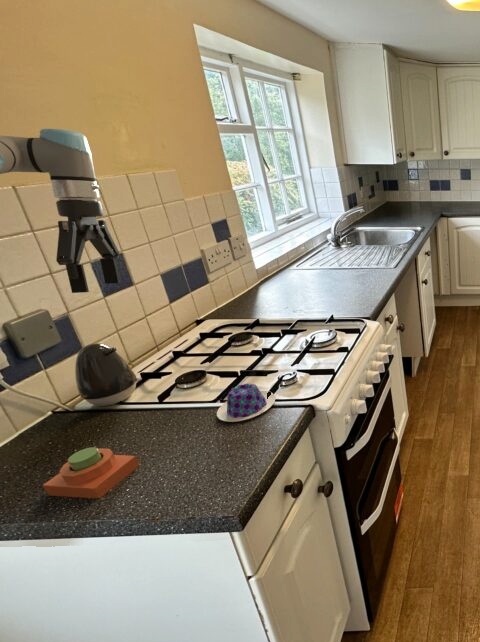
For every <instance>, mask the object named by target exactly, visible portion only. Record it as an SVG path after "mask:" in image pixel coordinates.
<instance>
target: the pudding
mask: <svg viewBox="0 0 480 642" xmlns="http://www.w3.org/2000/svg"><path fill="white" fill-rule="evenodd" d="M268 392H269V391H267V390H260V389H259V387H258V386H257V385H256V384H254V383H244V384H239V385H237V386H235V387H232V388H231V389H230V390H229V391H228V393H227V396H226V401H225V402H224V403H222V405H221V406H220V407H219V408H218V409H217V411H216V417H217V419H218V420H220V421H223V422H230V423H231V422H232V423H234V422H242V421H245V420H246V421H247V420H250V419H253V418H255V417H257V416H259V415H261V414H263V413H265V412H266V411H268V410H269V409H270V408H271V407H272V406H273V405H274V404H275V402H276V395H275V394H274V393H273V392H271V395H270V396H269V397H268V399H267V393H268Z"/></svg>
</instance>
